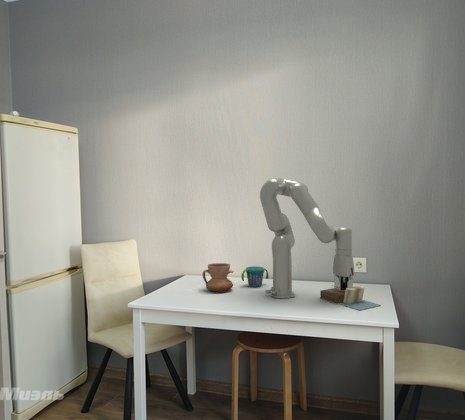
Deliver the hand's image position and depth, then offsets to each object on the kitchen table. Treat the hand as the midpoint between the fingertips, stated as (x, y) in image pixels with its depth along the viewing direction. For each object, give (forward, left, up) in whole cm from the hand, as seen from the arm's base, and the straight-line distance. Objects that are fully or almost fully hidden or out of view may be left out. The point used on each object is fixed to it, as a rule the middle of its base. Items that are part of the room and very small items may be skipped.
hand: (343, 289), depth 211 cm
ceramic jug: (-42, +51, -5) cm, 66 cm away
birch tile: (0, -7, -1) cm, 7 cm away
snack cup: (-20, +48, -5) cm, 52 cm away
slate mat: (0, -10, -5) cm, 11 cm away
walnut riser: (0, +2, -5) cm, 6 cm away
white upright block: (+18, +18, -5) cm, 27 cm away
